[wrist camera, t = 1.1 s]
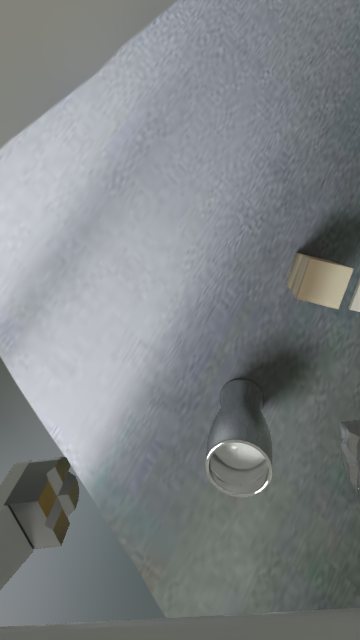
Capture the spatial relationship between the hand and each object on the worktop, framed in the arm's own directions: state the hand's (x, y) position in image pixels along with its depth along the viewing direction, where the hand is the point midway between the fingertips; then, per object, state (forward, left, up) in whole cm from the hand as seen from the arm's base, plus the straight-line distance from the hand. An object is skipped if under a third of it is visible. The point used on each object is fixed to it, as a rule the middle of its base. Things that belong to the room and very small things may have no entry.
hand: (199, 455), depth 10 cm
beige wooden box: (-8, -3, -36) cm, 37 cm away
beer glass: (-5, +16, -36) cm, 39 cm away
